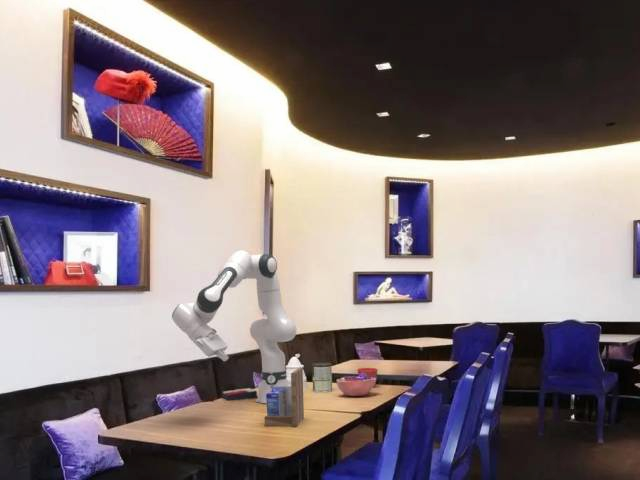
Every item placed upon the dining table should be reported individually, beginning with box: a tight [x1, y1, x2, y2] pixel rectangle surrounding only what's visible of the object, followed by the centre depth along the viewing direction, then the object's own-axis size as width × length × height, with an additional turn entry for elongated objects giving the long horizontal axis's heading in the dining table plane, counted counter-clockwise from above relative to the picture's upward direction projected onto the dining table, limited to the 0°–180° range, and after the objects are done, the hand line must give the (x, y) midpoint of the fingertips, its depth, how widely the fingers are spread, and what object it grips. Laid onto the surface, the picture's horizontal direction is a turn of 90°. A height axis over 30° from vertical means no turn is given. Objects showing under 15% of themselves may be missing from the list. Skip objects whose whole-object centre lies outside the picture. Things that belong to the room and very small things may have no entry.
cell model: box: [336, 372, 377, 397], centre depth 299 cm, size 17×20×11 cm
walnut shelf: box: [264, 367, 305, 428], centre depth 240 cm, size 18×12×20 cm
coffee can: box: [311, 362, 333, 393], centre depth 317 cm, size 10×10×14 cm
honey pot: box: [285, 353, 308, 389], centre depth 332 cm, size 13×13×18 cm
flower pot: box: [357, 367, 378, 389], centre depth 326 cm, size 11×11×10 cm
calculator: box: [221, 387, 258, 402], centre depth 302 cm, size 11×4×15 cm
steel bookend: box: [271, 386, 292, 416], centre depth 248 cm, size 4×11×13 cm, turn 82°
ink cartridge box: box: [266, 385, 285, 416], centre depth 240 cm, size 10×6×14 cm, turn 171°
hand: (226, 359), depth 245 cm, fingers closed
